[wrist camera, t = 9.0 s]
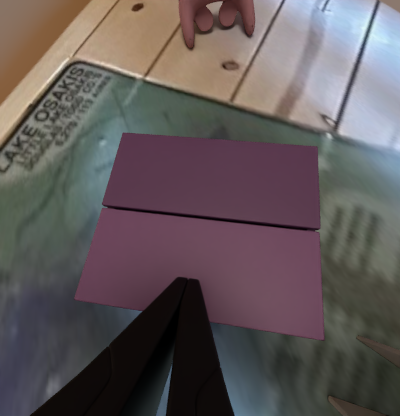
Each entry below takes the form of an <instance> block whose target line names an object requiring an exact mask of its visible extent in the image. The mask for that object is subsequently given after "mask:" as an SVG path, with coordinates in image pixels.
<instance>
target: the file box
mask: <svg viewBox="0 0 400 416" xmlns="http://www.w3.org/2000/svg"><path fill="white" fill-rule="evenodd" d="M102 205H103V206H105V207H107V208H108V209H117V210H126V211H135V212H144V213H153V214H162V215H171V216H180V217H188V218H197V219H206V220H215V221H224V222H233V223H242V224H251V225H260V226H268V227H277V228H286V229H295V230H304V231H313V232H315V230H319V229H320V202H319V175H318V148H317V146H303V145H289V144H275V143H261V142H247V141H233V140H220V139H206V138H192V137H178V136H164V135H150V134H136V133H123V134H122V137H121V141H120V144H119V148H118V151H117V154H116V158H115V161H114V165H113V168H112V172H111V175H110V178H109V182H108V185H107V189H106V192H105V195H104V199H103V202H102Z"/></svg>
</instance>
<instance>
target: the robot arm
mask: <svg viewBox="0 0 400 416" xmlns="http://www.w3.org/2000/svg"><path fill="white" fill-rule="evenodd" d="M172 362H173V363H172ZM171 365H172V371H171V379H170V387H169V395H168V403H167V411H166V416H235V415H234V412H233V409H232V406H231V403H230V400H229V396H228V392H227V389H226V385H225V382H224V378H223V374H222V370H221V367H220V362H219V358H218V354H217V350H216V346H215V342H214V338H213V334H212V330H211V325H210V321H209V317H208V313H207V309H206V305H205V301H204V297H203V293H202V289H201V285H200V281H199V280H198V279H193V278H189V279H188V278H186V277H177V278H176V279H175V280H174V281H173V282H172V283H171V284H170V285H169V286H168V287H167V288H166V289H165V290H164V291H163V292H162V293H161V294H160V295H159V296H158V297H157V298H156V299H155V300H154V301H153V302H152V303H151V304H150V305H149V306H148V307H147V308H146V309H145V310H144V311H143V312H142V313H140V314H139V315H138V316H137V317H136V318H135V319H134V320H133V321H132V322H131V323H130V324H129V325H128V326H127V327H126V328H125V329H124V330H123V331H122V332H121V333H120V334H119V335H118V336H117V337H116V338H115V339H114V340H113V341H112V342H111V343H110V345H109V346H107V347H106V348H105V349H104V350H103V351H102V352H101V353H100V354H99V355H98V356H97V357H96V358H95V359H94V360H93V361H92V362H91V363H90V364H89V365H88V366H87V367H86V368H85V369H84V370H83V371H81V372H80V373H79V374H78V375H77V376H76V377H75V378H73V379H72V380H71V381H70V382H69V383H68V384H67V385H65V386H64V387H63V388H62V389H61V390H60V391H58V392H57V393H56V394H55V395H54V396H52V397H51V398H50V399H49V400H48V401H47V402H45V403H44V404H43V405H42V406H41V407H39V408H38V409H37V410H36V411H35V412H33V413H32V414H31V415H30V416H156V413H157V410H158V407H159V403H160V400H161V397H162V394H163V391H164V387H165V384H166V381H167V378H168V375H169V371H170V368H171Z"/></svg>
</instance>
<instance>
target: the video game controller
mask: <svg viewBox="0 0 400 416" xmlns="http://www.w3.org/2000/svg"><path fill="white" fill-rule="evenodd" d="M218 1H223V3H222V5H221V7H220V10H219V21H220V23H221V24H222V25H223V26H230V25H232V24H233V22H234V20H235V17H236V14H237V11H239V12H240V14H241V16H242V20H243V24H244V27H245V30H246V32H247V34H248V35H252V33H253V31H254V27H255V13H254V4H253V0H179V15H180V22H181V26H182V30H183V34H184V38H185V41H186V44H187V45H188V47H189V48H192V47H193V44H194V24H193V21H194V22H195V23H196V24H197V26H198V28H199V29H200V30H202V31H207V30H209V29H210V28H211V27H212V24H213V16H212V13H211V12H210V10H209V9H208V8H207V7H206V5H207V4H210V3H213V2H218Z"/></svg>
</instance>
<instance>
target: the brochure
mask: <svg viewBox="0 0 400 416" xmlns="http://www.w3.org/2000/svg"><path fill="white" fill-rule="evenodd" d="M357 339H358V340H360V341H361V342H363V343H364V344H366V345H367V346H368V347H370V348H371V349H373V350H374V351H376V352H377V353H379V354H380V355H382V356H383V357H384V358H386V359H387V360H389V361H390V362H392V363H393V364H395V365H396V366H398V367H399V368H400V350H397V349H395V348H392V347H389V346H386V345H384V344H381V343H378V342H375V341H373V340H370V339H367V338H365V337H362V336H359V335H358V336H357ZM328 400H329V402H330V403H331V404H332V405H333V406H334V407H335V408H336V409H337V410H338V411H339V412H340V413H341V414H342V415H343V416H387V415H384V414H381V413H378V412H376V411H373V410H370V409H367V408H364V407H361V406H358V405H355V404H352V403H349V402H346V401H343V400H340V399H337V398H334V397H332V396H329V398H328Z"/></svg>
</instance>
